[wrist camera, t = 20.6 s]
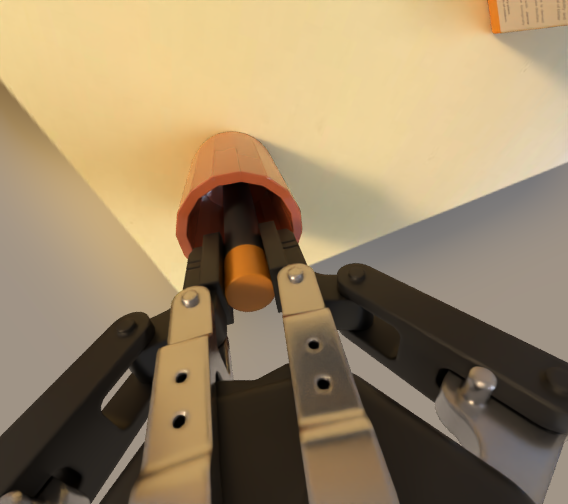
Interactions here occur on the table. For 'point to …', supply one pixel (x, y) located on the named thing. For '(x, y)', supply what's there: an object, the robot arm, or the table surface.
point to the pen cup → (226, 170)
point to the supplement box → (527, 14)
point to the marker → (244, 252)
